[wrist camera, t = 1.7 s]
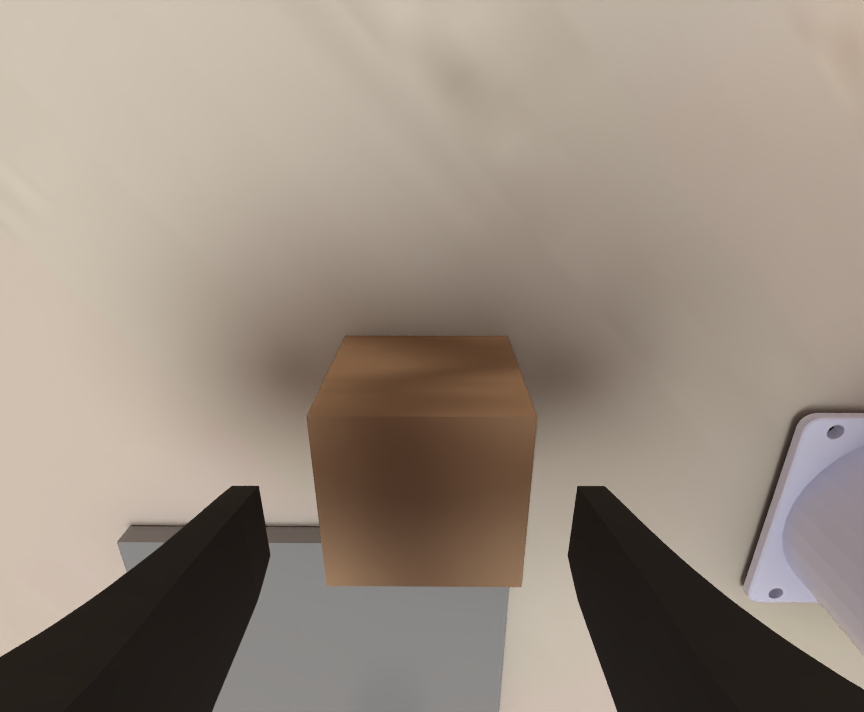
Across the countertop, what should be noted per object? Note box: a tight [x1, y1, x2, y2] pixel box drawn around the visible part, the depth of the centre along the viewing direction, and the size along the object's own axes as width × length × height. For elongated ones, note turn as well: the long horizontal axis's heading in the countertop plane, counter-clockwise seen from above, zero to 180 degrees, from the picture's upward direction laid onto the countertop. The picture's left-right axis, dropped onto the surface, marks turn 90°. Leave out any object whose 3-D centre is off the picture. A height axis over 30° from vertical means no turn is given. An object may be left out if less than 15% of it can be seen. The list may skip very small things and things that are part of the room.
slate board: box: [117, 526, 509, 712], centre depth 20 cm, size 14×14×1 cm
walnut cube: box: [307, 336, 537, 587], centre depth 14 cm, size 5×5×5 cm
